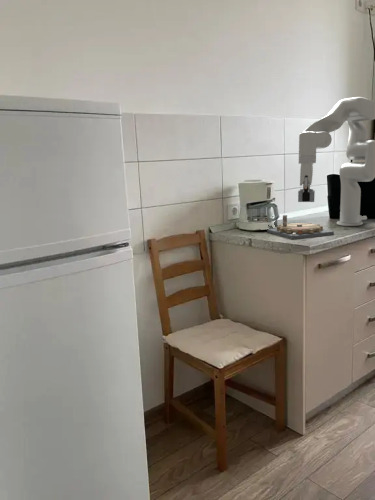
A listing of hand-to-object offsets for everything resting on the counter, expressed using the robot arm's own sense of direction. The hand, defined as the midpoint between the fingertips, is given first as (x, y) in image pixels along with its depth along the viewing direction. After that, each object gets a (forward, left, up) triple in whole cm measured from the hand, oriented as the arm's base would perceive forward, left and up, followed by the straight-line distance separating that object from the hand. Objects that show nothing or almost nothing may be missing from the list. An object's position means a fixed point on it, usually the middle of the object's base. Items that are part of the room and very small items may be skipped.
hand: (306, 200), depth 196 cm
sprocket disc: (0, -5, -14) cm, 15 cm away
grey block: (0, 0, 0) cm, 0 cm away
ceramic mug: (+7, -21, -16) cm, 28 cm away
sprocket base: (0, -5, -16) cm, 17 cm away
